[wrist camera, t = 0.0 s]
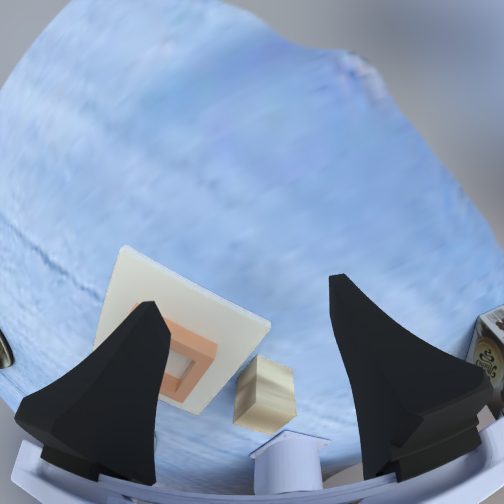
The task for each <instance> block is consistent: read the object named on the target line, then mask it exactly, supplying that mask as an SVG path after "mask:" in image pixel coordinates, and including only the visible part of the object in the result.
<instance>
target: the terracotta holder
mask: <svg viewBox="0 0 504 504" xmlns="http://www.w3.org/2000/svg"><path fill="white" fill-rule="evenodd" d="M138 305H139V303H136V305H135V306H134V307H133V309H132V310H131V312H132V311H133V310H134V309H135V308H136V307H137V306H138ZM131 312H130V313H131ZM130 313H129V314H130ZM129 314H128V315H129ZM163 319H164V321H165V323H166V325H167V326H168V328H169V330H170V332H171V341H170V349H171V350H173V351H175V352H177V353H179V354H181V355H183V356H185V357H187V358H189V359H192V361H191V362H190V364H189V366H188V367H187V369H186V370H185V372H184V373H183V375H182V376H181V378H180V379H177V378H175V377H173V376H171V375H169V374H167V373H165V372H164V376H163V380H162V384H161V388H160V392H159V393H160V394H162V395H164V396H166V397H168V398H170V399H173V400H175V401H177V402H179V403H183V402H184V401H185V399H186V398H187V397H188V395H189V394H190V392H191V391H192V390H193V388H194V387H195V386H196V384H197V383H198V382H199V380H200V379H201V378H202V376H203V375H204V373H205V372H206V371H207V369H208V368H209V367H210V365H211V364H212V363H213V361H214V360H215V356H216V351H217V347H218V344H216V343H214V342H212V341H210V340H208V339H206V338H204V337H201V336H199V335H197V334H195V333H193V332H191V331H189V330H187V329H185V328H183V327H181V326H180V325H178V324H176V323H174V322H172V321H170V320H168V319H166V318H164V317H163Z"/></svg>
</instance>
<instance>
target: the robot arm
mask: <svg viewBox="0 0 504 504" xmlns="http://www.w3.org/2000/svg"><path fill="white" fill-rule="evenodd" d="M329 303H330V318H331V323H332V327H333V332H334V336H335V339H336V342H337V345H338V348H339V351H340V354H341V357H342V360H343V363H344V366H345V369H346V372H347V375H348V378H349V381H350V385H351V388H352V393H353V398H354V403H355V409H356V415H357V421H358V427H359V435H360V443H361V451H362V462H363V476H364V481H361V482H357V483H353V484H348V485H343V486H338V487H333V488H327V489H323V486H322V476H321V468H320V459H319V451H320V450H321V449H323V448H324V447H326V446H327V445H329V444H330V443H331V441H330V440H326V439H321V438H316V437H312V436H307V435H303V434H299V433H295V432H291V431H284V432H282V433H281V434H279V435H278V436H277V437H275V438H274V439H273V440H271V441H270V442H268V443H267V444H265V445H264V446H263V447H261V448H260V449H258V450H257V451H255V452H254V453H252V454H251V455H250V458H253V459H255V472H254V493H255V495H213V494H200V493H190V492H182V491H174V490H168V489H162V488H156V487H151V486H152V485H153V484H155V483H156V476H155V463H154V431H155V417H156V407H157V401H158V396H159V392H160V388H161V384H162V380H163V376H164V372H165V368H166V364H167V360H168V356H169V350H170V341H171V332H170V330H169V328H168V326H167V325H166V323H165V321H164V319H163V317H162V315H161V313H160V311H159V309H158V307H157V305H156V303H155V301H144V302H141V303H140V304H139V305H138V306H137V307H136V308H135V309H134V310H133V311H132V312H131V313H130V314H129V315H128V316H127V317H126V318H125V319H124V321H123V322H122V323H121V324H120V325H119V326H118V327H117V328H116V329H115V330H114V331H113V332H112V333H111V334H110V335H109V336H108V337H107V338H106V339H105V340H104V341H103V342H102V343H101V344H100V345H99V346H98V347H97V348H96V349H95V350H94V351H93V352H92V353H91V354H90V355H89V356H88V357H87V358H85V359H84V360H83V361H82V362H81V363H80V364H78V365H77V366H76V367H74V368H73V369H72V370H70V371H69V372H68V373H66V374H65V375H64V376H62V377H61V378H59V379H58V380H56V381H55V382H53V383H51V384H50V385H48V386H46V387H44V388H43V389H41V390H39V391H37V392H35V393H32V394H30V395H28V396H26V397H24V398H23V399H22V401H21V403H20V406H19V408H18V410H17V412H16V415H15V417H14V419H15V421H16V423H17V424H18V425H20V427H21V428H23V429H24V430H25V431H26V432H28V433H29V434H30V435H32V436H33V437H35V438H36V439H37V440H39V441H40V442H42V443H43V444H44V446H43V449H42V448H40V447H38V446H36V445H34V444H32V443H30V442H28V441H26V440H23V442H22V444H21V447H20V450H19V453H18V456H17V459H16V462H15V465H14V469H13V472H12V475H11V480H12V481H13V482H14V483H16V484H17V485H18V486H20V487H21V488H23V489H24V490H25V491H27V492H28V493H29V494H31V495H32V496H33V497H35V498H36V499H38V500H39V501H40V502H42V503H43V504H136V503H134V502H133V500H132V499H136V500H140V501H144V502H149V503H153V504H347V503H352V502H356V501H360V500H361V501H360V502H359V503H358V504H478V503H480V502H481V501H483V500H484V499H486V498H487V497H488V496H490V495H491V494H493V493H494V492H496V491H497V490H498V489H500V488H501V487H502V486H504V416H503V417H501V418H500V419H498V420H497V421H495V422H493V423H492V424H490V425H488V426H487V427H485V428H484V429H483V430H481V431H480V432H478V430H477V428H476V426H477V425H478V424H479V420H478V417H477V414H478V413H479V412H480V411H481V409H482V408H483V407H484V406H485V405H486V404H487V403H488V402H489V400H490V399H491V398H492V396H493V393H494V388H493V386H492V384H491V382H490V379H489V377H488V376H487V374H486V372H485V371H484V369H483V367H480V366H477V365H475V364H472V363H469V362H467V361H464V360H461V359H459V358H456V357H454V356H452V355H450V354H448V353H446V352H443V351H441V350H440V349H438V348H436V347H434V346H432V345H430V344H429V343H427V342H425V341H423V340H422V339H420V338H418V337H417V336H415V335H414V334H412V333H411V332H409V331H408V330H406V329H405V328H404V327H402V326H401V325H400V324H398V323H397V322H396V321H394V320H393V319H392V318H391V317H389V316H388V315H387V314H386V313H385V312H383V311H382V310H381V309H380V308H379V307H378V306H377V305H376V304H375V303H374V302H372V301H371V300H370V299H369V298H368V297H367V296H366V295H365V294H364V293H363V292H362V291H361V290H360V289H359V288H358V287H357V286H356V285H355V284H354V283H353V282H352V281H351V280H350V279H349V278H348V277H347V276H346V275H345V274H338V275H332V276H329ZM124 480H125V481H124ZM128 481H129V482H128ZM132 482H133V483H132ZM141 484H142V485H141ZM146 485H147V486H146ZM131 498H132V499H131Z"/></svg>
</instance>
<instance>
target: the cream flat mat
mask: <svg viewBox="0 0 504 504" xmlns="http://www.w3.org/2000/svg"><path fill="white" fill-rule="evenodd" d="M144 301H155V303H156V305H157V307H158V309H159V311H160V313H161V315H162V317H164V318H166V319H168V320H170V321H172V322H174V323H176V324H178V325H180V326H181V327H183V328H185V329H187V330H189V331H191V332H193V333H195V334H197V335H199V336H201V337H204V338H206V339H208V340H210V341H212V342H214V343H216V344H218V347H217V351H216V356H215V360H214V361H213V363H212V364H211V365H210V367H209V368H208V369H207V371H206V372H205V373H204V375H203V376H202V378H201V379H200V380H199V382H198V383H197V384H196V386H195V387H194V388H193V390H192V391H191V392H190V394H189V395H188V397H187V398H186V399H185V401H184V402H183V403H179V402H177V401H175V400H173V399H170V398H168V397H166V396H164V395H162V394H160V393H159V396H158V399H160V400H162V401H164V402H166V403H168V404H171V405H173V406H175V407H177V408H180V409H182V410H185V411H187V412H189V413H192V414H194V415H197V416H198V415H199V414H200V413H201V412H202V411H203V409H204V408H205V407H206V406H207V405H208V404H209V403H210V402H211V400H212V399H213V398H214V397H215V396H216V395H217V394H218V392H219V391H220V390H221V389H222V388H223V387H224V385H225V384H226V383H227V382H228V381H229V379H230V378H231V377H232V376H233V375H234V374H235V372H236V371H237V370H238V369H239V368H240V366H241V365H242V364H243V363H244V361H245V360H246V359H247V358H248V357H249V355H250V354H251V353H252V352H253V350H254V349H255V348H256V347H257V345H258V344H259V343H260V342H261V340H262V339H263V338H264V337H265V335H266V334H267V333H268V331H269V330H270V329H271V321H269V320H267V319H265V318H263V317H260V316H258V315H256V314H254V313H252V312H250V311H248V310H246V309H244V308H242V307H240V306H238V305H236V304H234V303H232V302H230V301H228V300H226V299H224V298H222V297H220V296H219V295H217V294H215V293H213V292H211V291H209V290H207V289H205V288H203V287H201V286H199V285H197V284H196V283H194V282H192V281H190V280H188V279H186V278H184V277H183V276H181V275H179V274H177V273H175V272H173V271H172V270H170V269H168V268H166V267H164V266H163V265H161V264H159V263H157V262H155V261H154V260H152V259H150V258H148V257H147V256H145V255H143V254H141V253H140V252H138V251H136V250H134V249H133V248H131V247H129V246H128V245H124V246H123V247H122V248H121V249H120V252H119V255H118V258H117V261H116V264H115V267H114V270H113V273H112V277H111V280H110V283H109V287H108V290H107V293H106V297H105V301H104V304H103V308H102V312H101V316H100V320H99V324H98V328H97V332H96V337H95V341H94V346H93V351H94V350H95V349H96V348H97V347H98V346H99V345H100V344H101V343H102V342H103V341H104V340H105V339H106V338H107V337H108V336H109V335H110V334H111V333H112V332H113V331H114V330H115V329H116V328H117V327H118V326H119V325H120V324H121V323H122V322H123V321H124V319H125V318H126V317H127V316H128V314H129V313H130V312H131V310H132V309H133V307H134V306H135V305H136V303H139V304H140V303H141V302H144ZM93 351H92V352H93ZM191 361H192V359H189V358H187V357H185V356H183V355H181V354H179V353H177V352H175V351H173V350H171V349H170V350H169V356H168V360H167V364H166V368H165V373H167V374H169V375H171V376H173V377H175V378H177V379H180V378H181V376H182V375H183V373H184V372H185V370H186V369H187V367H188V366H189V364H190V362H191Z"/></svg>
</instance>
